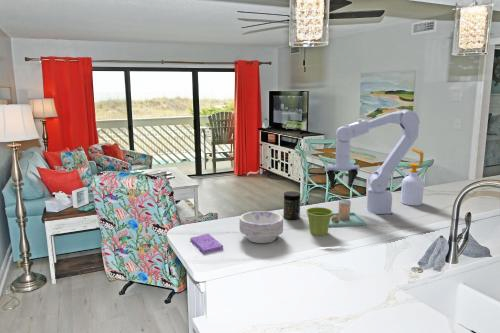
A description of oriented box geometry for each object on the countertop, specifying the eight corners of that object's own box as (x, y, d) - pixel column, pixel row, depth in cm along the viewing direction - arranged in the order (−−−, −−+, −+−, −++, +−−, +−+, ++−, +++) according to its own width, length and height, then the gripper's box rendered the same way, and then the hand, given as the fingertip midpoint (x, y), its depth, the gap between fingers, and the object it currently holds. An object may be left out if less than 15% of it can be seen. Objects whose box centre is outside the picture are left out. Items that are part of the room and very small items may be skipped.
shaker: (347, 216, 156) (348, 199, 154) (351, 220, 151) (352, 202, 150) (336, 216, 155) (337, 199, 154) (340, 220, 151) (340, 203, 149)
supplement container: (299, 222, 151) (299, 196, 149) (282, 221, 153) (282, 195, 151) (300, 216, 158) (301, 191, 156) (284, 215, 159) (284, 190, 157)
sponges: (203, 255, 124) (203, 249, 124) (190, 241, 135) (189, 236, 134) (223, 250, 127) (223, 245, 127) (208, 237, 138) (208, 232, 138)
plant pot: (300, 231, 142) (301, 208, 140) (322, 227, 146) (323, 205, 144) (314, 240, 133) (315, 217, 132) (337, 236, 137) (338, 213, 135)
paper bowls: (273, 228, 145) (273, 207, 144) (290, 243, 131) (290, 221, 130) (234, 233, 141) (234, 212, 139) (247, 249, 127) (247, 227, 125)
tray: (354, 215, 158) (354, 212, 158) (366, 226, 147) (366, 222, 146) (315, 217, 156) (316, 213, 156) (325, 228, 145) (325, 224, 144)
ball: (338, 221, 150) (338, 213, 149) (340, 224, 147) (341, 216, 146) (330, 222, 150) (330, 214, 149) (332, 225, 146) (333, 216, 146)
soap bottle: (403, 198, 181) (407, 146, 176) (424, 202, 176) (429, 148, 170) (398, 203, 174) (402, 149, 169) (419, 207, 169) (424, 151, 163)
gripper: (355, 153, 165) (354, 184, 168) (322, 154, 164) (321, 185, 167) (362, 156, 159) (360, 188, 161) (328, 157, 157) (326, 189, 160)
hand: (341, 187), depth 164 cm, fingers open, 7 cm apart
